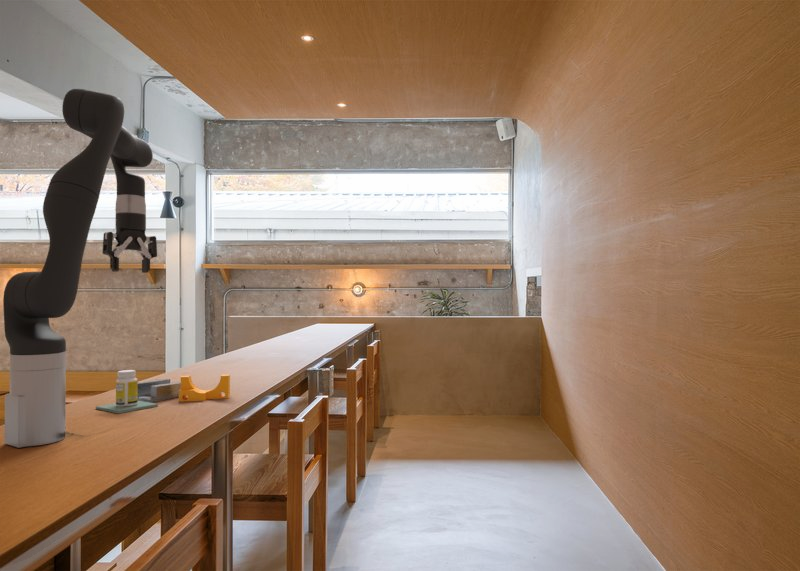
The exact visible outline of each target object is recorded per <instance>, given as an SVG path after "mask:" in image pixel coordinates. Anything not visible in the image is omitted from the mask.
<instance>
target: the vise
mask: <svg viewBox="0 0 800 571" xmlns="http://www.w3.org/2000/svg"><path fill="white" fill-rule="evenodd" d="M179 390H181V381H175V382H171V378H160V379H153V380H145V381H139V382H138V381H137V391H138V401H144V402H150V403H156V402H161V401H166V400H170V399H171V400H172V399H175V398H179Z"/></svg>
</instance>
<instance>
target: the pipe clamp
mask: <svg viewBox="0 0 800 571" xmlns="http://www.w3.org/2000/svg"><path fill="white" fill-rule="evenodd" d="M191 377H192V376H191V375H182V376H180V382H181V390H179V397H178V402H181V403H182V402H202V401H204V402H205V401H206V400H211V399H212V400H215V399H217V400H218V399H219V400H220V399H230V397H231V374H221V375H220V378H219V379H220V380H219V382H218V384H217V386H216V387H214V388H211V389H208V390H205V389H201V388H198V387H197V386H196V385H195V384H194V383H193V382H194V381H192V378H191ZM222 393H224V395H223V394H222Z"/></svg>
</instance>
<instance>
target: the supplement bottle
mask: <svg viewBox="0 0 800 571" xmlns="http://www.w3.org/2000/svg"><path fill="white" fill-rule="evenodd" d="M136 374H137V372H136V370H135V369H125V370H119V371H117V379H116V380H115V403H116V406H118V407H127V406H134V405H137V403H138V391H137V382H138V378H137V377H136Z"/></svg>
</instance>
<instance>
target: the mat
mask: <svg viewBox="0 0 800 571" xmlns="http://www.w3.org/2000/svg"><path fill="white" fill-rule="evenodd" d="M158 406H159V404H158V403H156V402H152V403H150V402H144V401H138V403H137V405H134V406H127V407H118V406H116V402H114V403H110V404H109V403H108V404H104V405H103V404H102V405H96V406H95V410H98V411H104V412H109V413H114V414H122V413H129V412H134V411H140V410H144V409H145V410H146V409H150V408H156V407H158Z"/></svg>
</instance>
